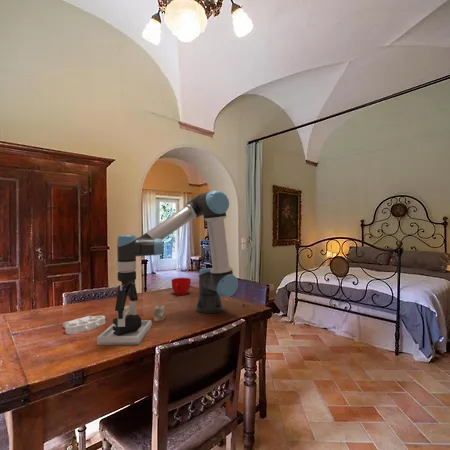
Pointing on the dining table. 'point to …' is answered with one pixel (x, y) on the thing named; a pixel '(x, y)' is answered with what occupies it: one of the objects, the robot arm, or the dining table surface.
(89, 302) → the dining table surface
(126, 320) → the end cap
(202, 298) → the robot arm
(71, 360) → the dining table surface
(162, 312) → the block
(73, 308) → the dining table surface
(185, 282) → the ceramic cup
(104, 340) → the tray
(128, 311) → the block
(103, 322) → the muffin pan
